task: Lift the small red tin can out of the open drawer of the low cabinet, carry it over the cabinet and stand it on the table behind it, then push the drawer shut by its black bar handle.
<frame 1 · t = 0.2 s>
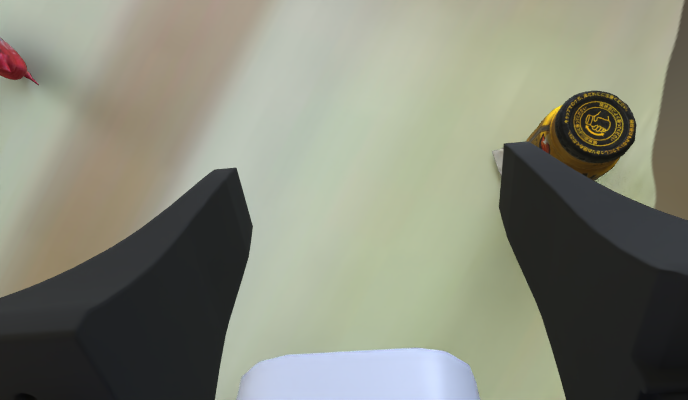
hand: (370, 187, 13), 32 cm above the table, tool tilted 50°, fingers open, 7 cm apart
decorative bird figurine: (14, 63, 53), on the table
condiment: (544, 183, 45), on the table
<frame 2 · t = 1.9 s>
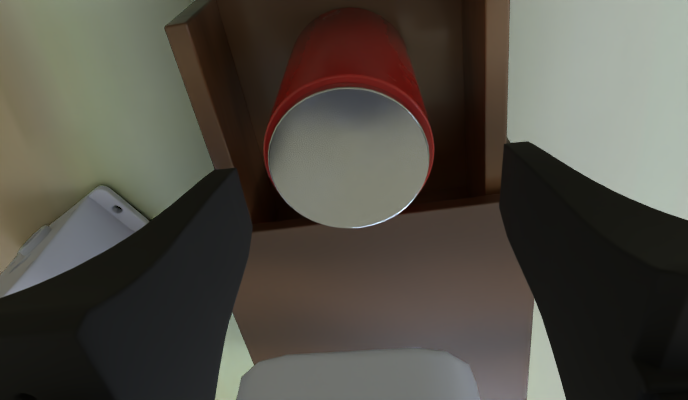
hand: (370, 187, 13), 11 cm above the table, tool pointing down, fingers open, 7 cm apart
can: (349, 69, 21), point 2 cm above the table, touching drawer
cabinet: (379, 248, 28), on the table
drawer: (344, 50, 19), point 3 cm above the table, slide at 9.0 cm, touching can
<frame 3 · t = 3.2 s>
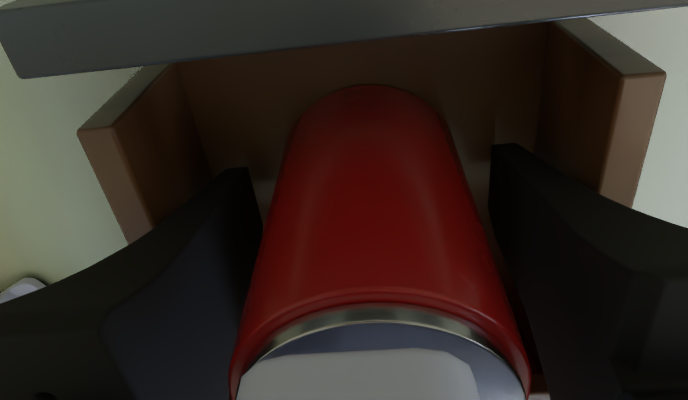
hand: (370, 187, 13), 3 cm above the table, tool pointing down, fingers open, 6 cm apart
can: (369, 165, 14), point 2 cm above the table, touching drawer
cabinet: (390, 359, 22), on the table
drawer: (365, 152, 12), point 3 cm above the table, slide at 9.0 cm, touching can, gripper
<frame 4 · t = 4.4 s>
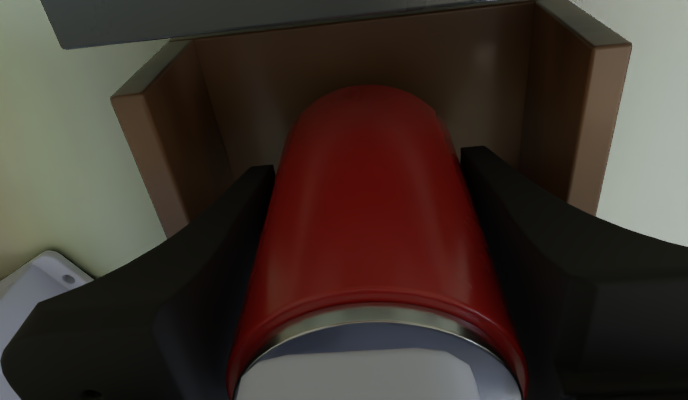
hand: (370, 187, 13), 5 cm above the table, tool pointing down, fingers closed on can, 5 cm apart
can: (367, 164, 14), point 3 cm above the table, touching gripper
drawer: (367, 123, 14), point 3 cm above the table, slide at 9.0 cm
when the fingers open (1 cm above the table, at t = 10.3 s): can stays where it is, on the table.
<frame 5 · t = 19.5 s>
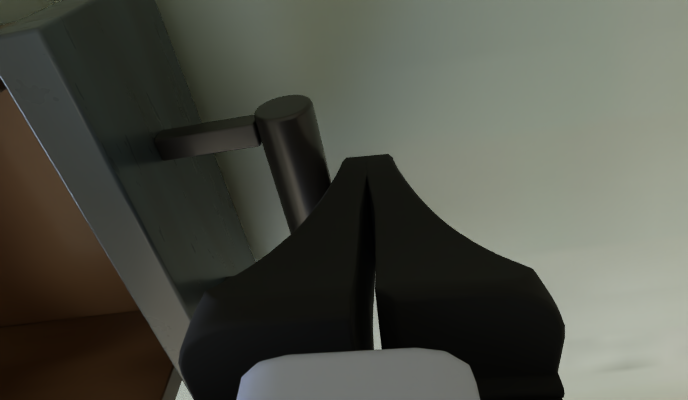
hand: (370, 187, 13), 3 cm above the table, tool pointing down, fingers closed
drawer: (47, 239, 14), point 3 cm above the table, slide at 8.9 cm, touching gripper
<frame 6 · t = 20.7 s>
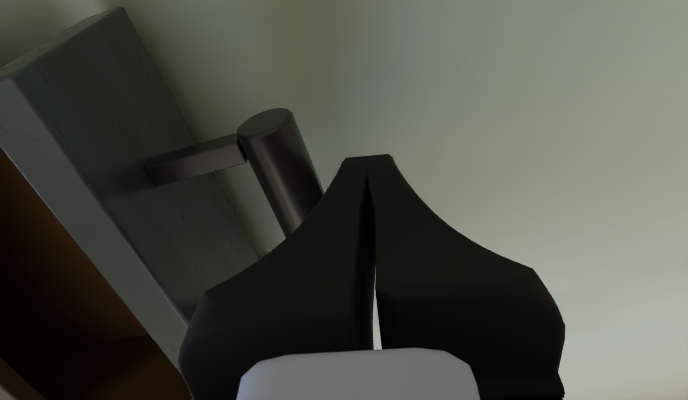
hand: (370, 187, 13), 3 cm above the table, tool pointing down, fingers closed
drawer: (61, 271, 15), point 3 cm above the table, slide at 4.0 cm, touching gripper
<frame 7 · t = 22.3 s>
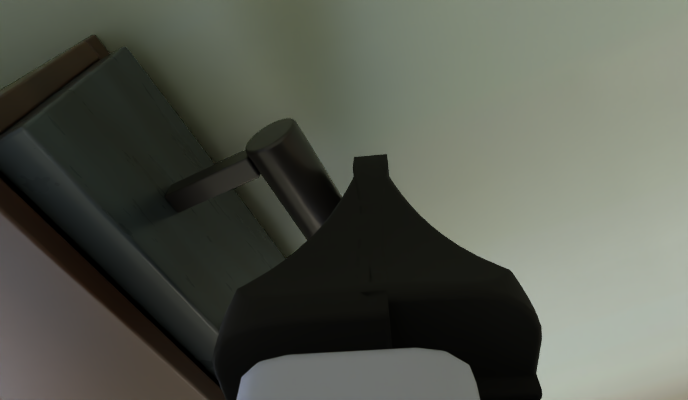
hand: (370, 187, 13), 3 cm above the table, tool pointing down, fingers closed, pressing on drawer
cabinet: (76, 269, 19), on the table
drawer: (108, 306, 16), point 3 cm above the table, slide at -0.2 cm, touching cabinet, gripper
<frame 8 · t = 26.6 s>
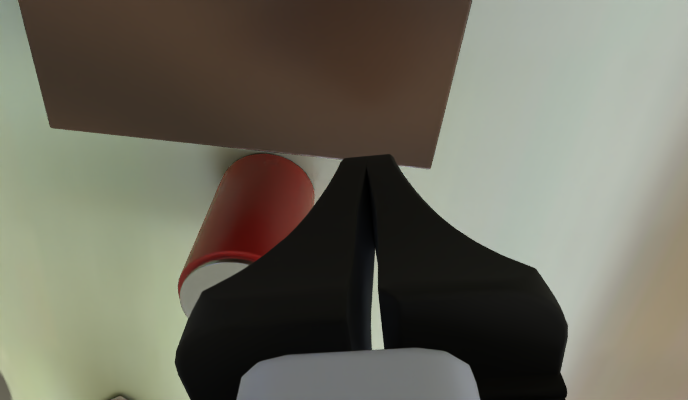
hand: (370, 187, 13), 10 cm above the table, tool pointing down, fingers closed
can: (267, 194, 26), on the table
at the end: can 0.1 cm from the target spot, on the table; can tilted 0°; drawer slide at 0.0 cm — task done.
